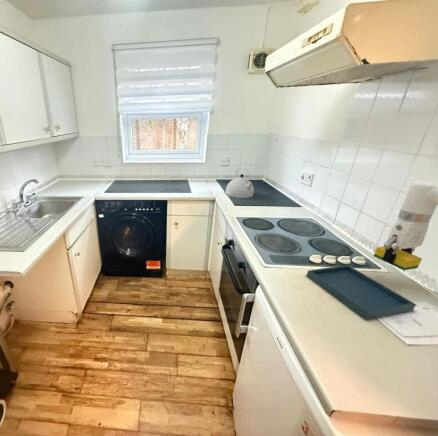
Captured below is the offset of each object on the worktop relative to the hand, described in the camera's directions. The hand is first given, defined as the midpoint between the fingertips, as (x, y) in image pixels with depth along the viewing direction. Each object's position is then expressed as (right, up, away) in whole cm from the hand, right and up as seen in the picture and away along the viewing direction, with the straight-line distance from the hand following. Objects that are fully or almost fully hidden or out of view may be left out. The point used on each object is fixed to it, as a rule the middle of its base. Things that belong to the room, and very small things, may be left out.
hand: (395, 260), depth 89 cm
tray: (-16, -12, 0) cm, 20 cm away
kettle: (-14, +36, +114) cm, 120 cm away
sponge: (0, -1, 0) cm, 1 cm away
